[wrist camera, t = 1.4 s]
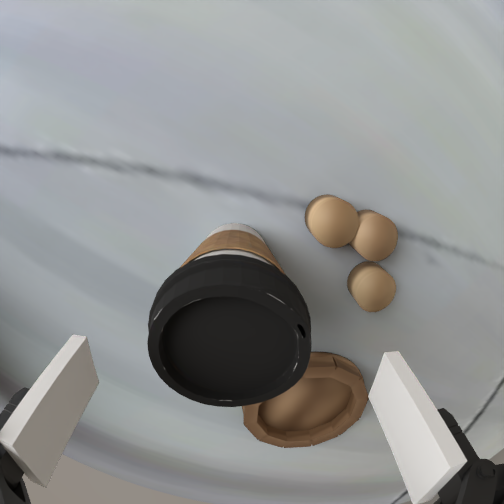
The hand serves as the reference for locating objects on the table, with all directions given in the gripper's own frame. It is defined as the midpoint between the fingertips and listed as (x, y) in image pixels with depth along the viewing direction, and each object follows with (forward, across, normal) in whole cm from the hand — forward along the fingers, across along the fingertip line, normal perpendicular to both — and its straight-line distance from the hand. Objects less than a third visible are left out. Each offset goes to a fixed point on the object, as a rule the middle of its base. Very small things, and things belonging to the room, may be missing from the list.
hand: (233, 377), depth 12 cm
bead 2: (+16, +12, +3) cm, 20 cm away
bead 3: (+16, +12, -2) cm, 21 cm away
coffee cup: (+16, 0, 0) cm, 16 cm away
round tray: (+16, +8, -18) cm, 26 cm away
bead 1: (+16, +8, +4) cm, 18 cm away
